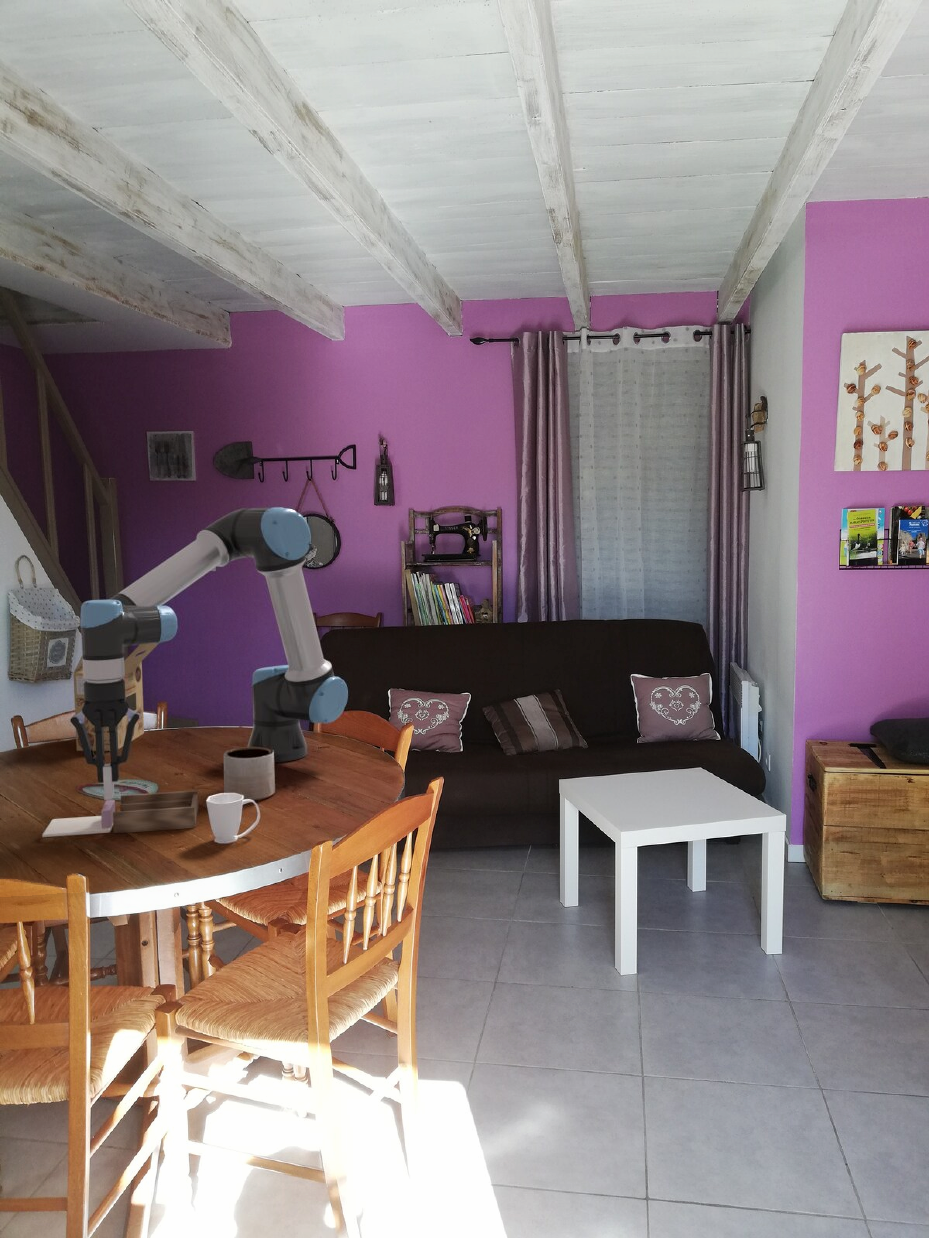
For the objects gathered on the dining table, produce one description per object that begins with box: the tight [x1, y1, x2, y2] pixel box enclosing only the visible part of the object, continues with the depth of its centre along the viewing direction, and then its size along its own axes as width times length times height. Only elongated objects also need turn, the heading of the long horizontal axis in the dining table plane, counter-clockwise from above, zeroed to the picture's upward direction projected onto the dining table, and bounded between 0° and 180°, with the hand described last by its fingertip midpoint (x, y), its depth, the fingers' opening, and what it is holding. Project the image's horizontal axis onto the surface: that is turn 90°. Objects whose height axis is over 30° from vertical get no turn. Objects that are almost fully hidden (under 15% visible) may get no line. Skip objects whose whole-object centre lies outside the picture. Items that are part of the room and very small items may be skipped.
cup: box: [205, 792, 261, 844], centre depth 173 cm, size 7×10×8 cm
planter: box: [223, 746, 276, 802], centre depth 201 cm, size 11×11×10 cm
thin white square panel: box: [42, 799, 116, 838], centre depth 180 cm, size 12×10×4 cm
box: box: [73, 643, 160, 752], centre depth 249 cm, size 21×20×30 cm
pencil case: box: [112, 790, 199, 834], centre depth 183 cm, size 15×12×4 cm
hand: (109, 797), depth 181 cm, fingers closed
